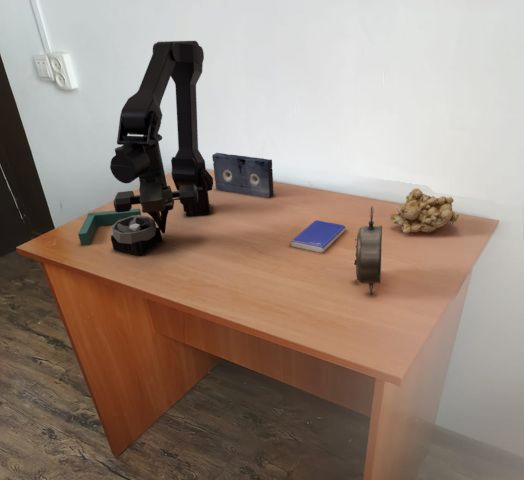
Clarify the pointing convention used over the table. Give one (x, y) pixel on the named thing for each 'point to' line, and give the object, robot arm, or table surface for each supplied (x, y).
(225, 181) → the vhs cassette tape
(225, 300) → the table surface
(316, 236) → the blue book
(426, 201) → the mineral formation
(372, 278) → the alarm clock
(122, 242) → the cpu cooler
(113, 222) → the corner stop
